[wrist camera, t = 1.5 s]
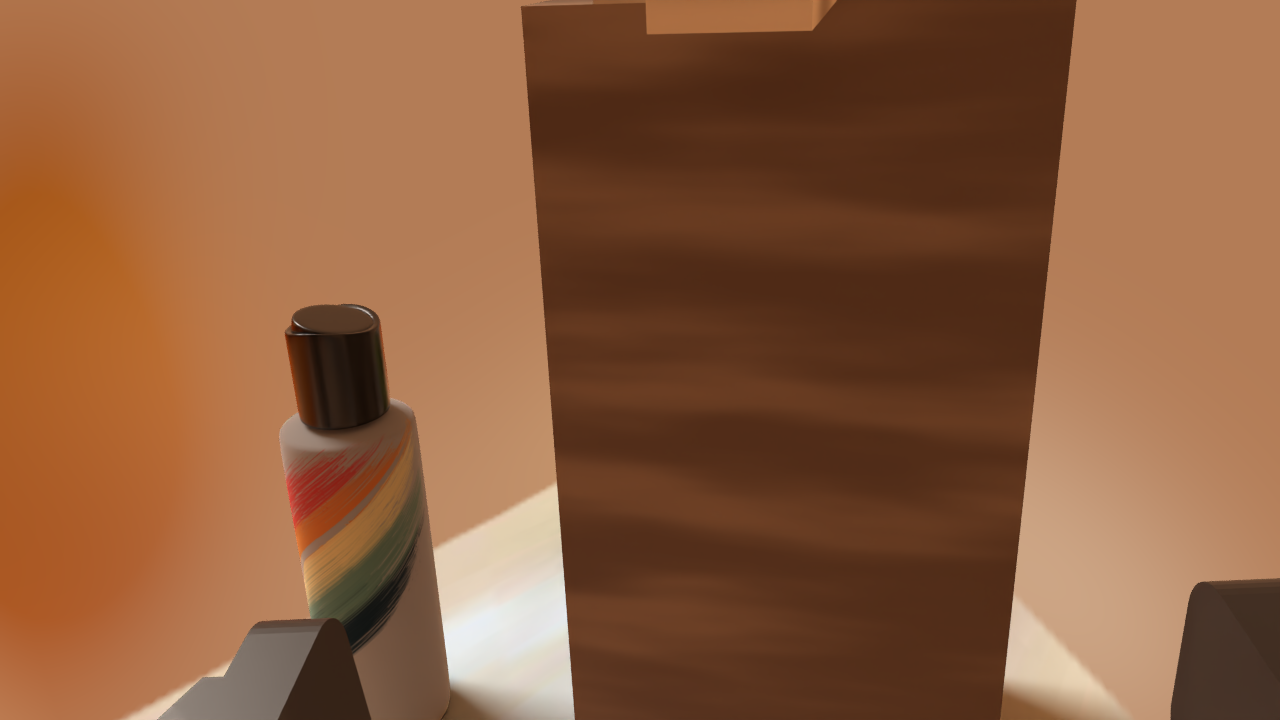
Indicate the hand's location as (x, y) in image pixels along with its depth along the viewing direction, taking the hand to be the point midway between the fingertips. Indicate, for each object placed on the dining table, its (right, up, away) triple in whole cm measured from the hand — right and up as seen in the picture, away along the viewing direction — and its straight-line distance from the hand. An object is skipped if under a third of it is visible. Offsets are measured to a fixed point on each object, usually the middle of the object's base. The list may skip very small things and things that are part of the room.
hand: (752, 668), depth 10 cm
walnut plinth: (+6, -15, +36) cm, 39 cm away
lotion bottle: (-13, -14, +40) cm, 45 cm away
